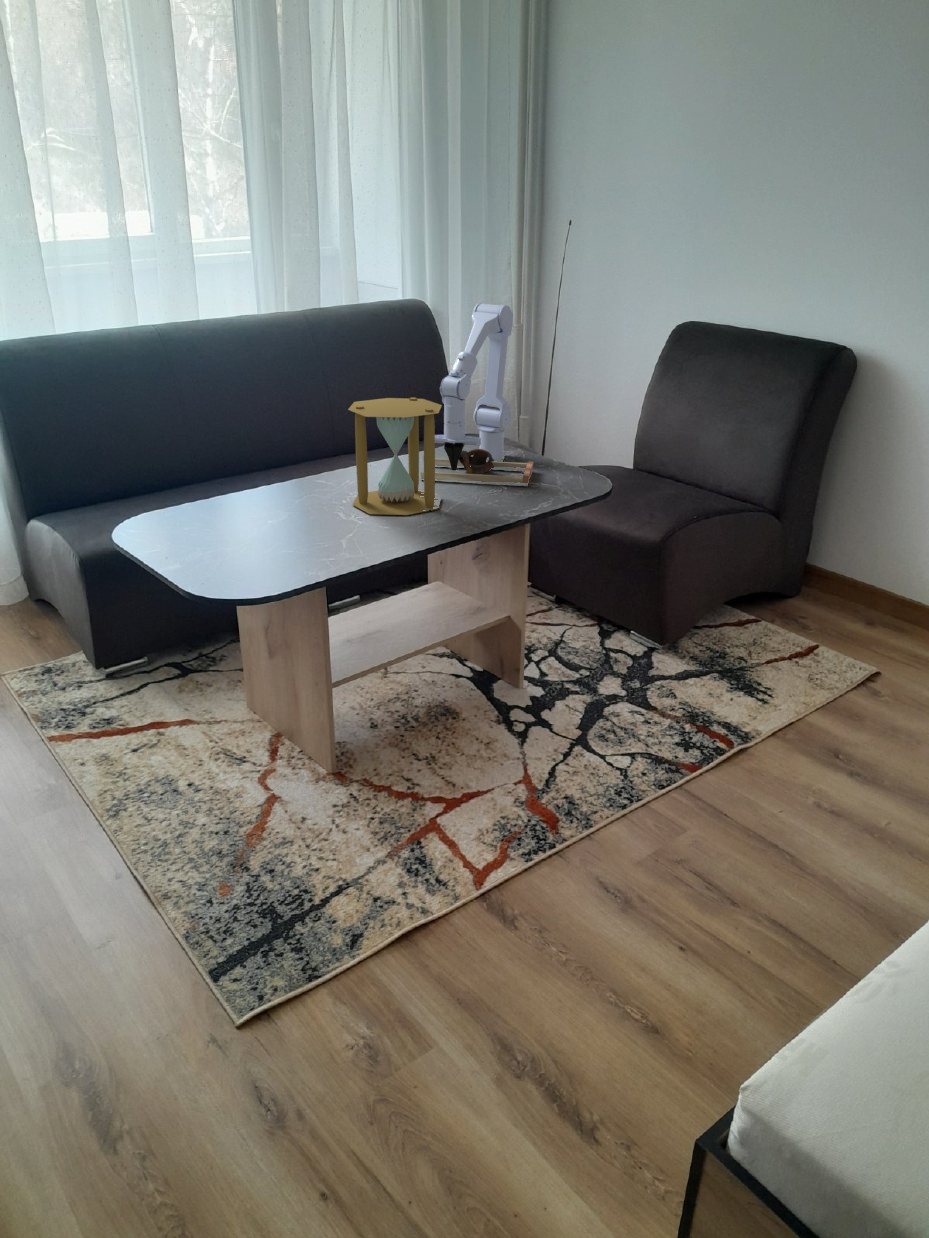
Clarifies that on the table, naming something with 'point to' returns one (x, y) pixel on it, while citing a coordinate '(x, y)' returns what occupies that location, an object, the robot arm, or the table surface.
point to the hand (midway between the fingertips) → (454, 469)
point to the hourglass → (396, 483)
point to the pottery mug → (476, 461)
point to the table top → (483, 477)
